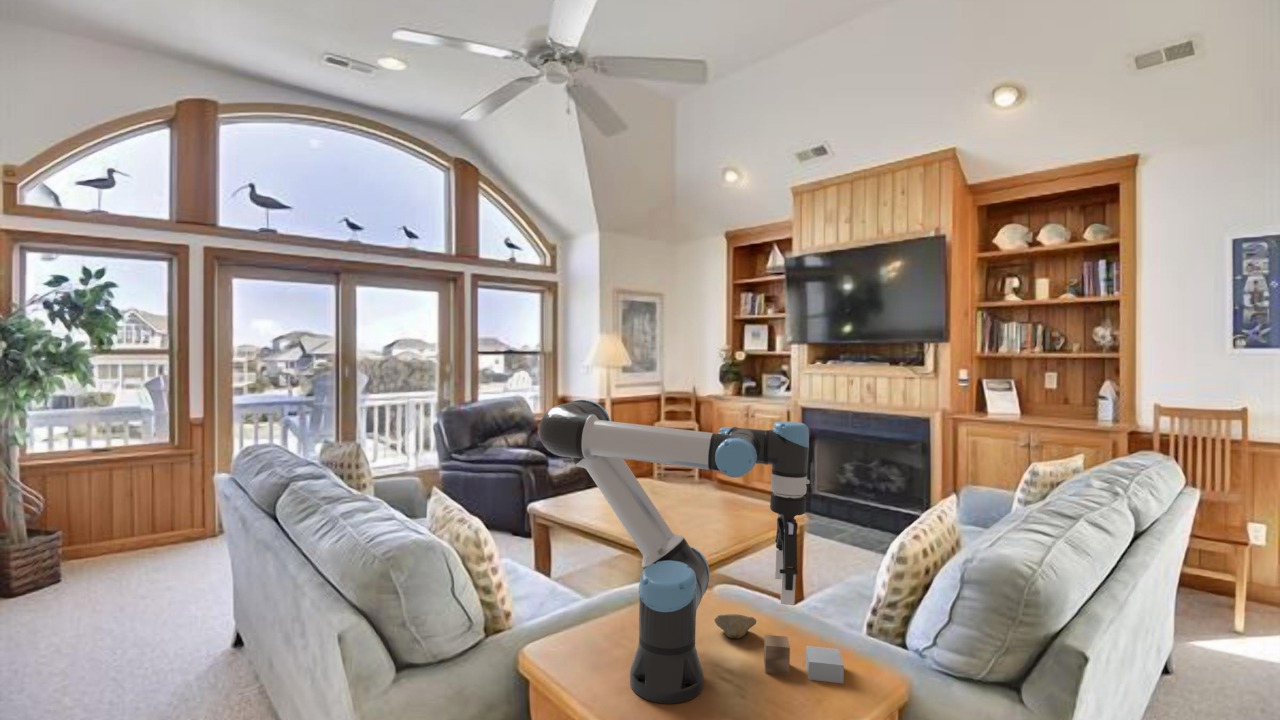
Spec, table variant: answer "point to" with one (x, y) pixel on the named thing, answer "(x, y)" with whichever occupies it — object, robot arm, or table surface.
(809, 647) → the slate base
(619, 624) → the table surface
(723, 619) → the fossil
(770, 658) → the walnut block
